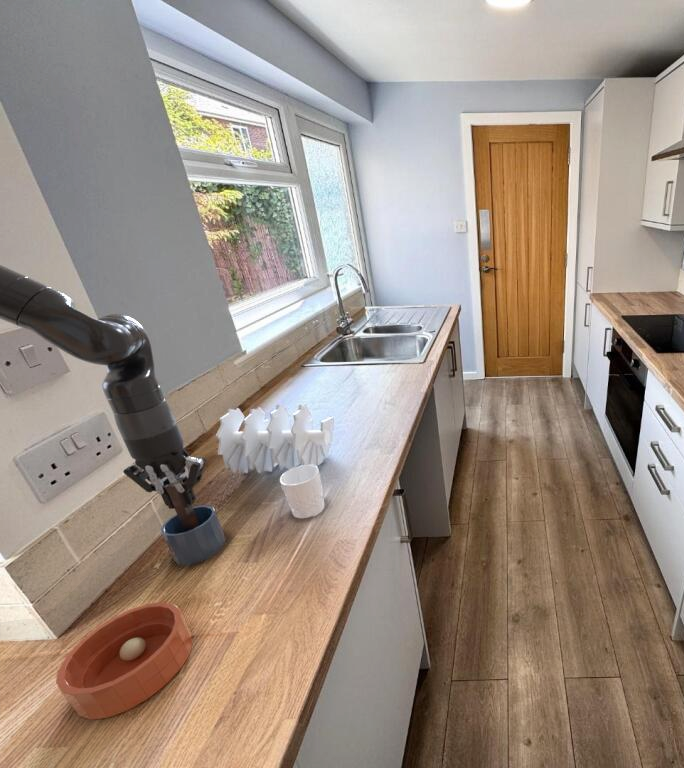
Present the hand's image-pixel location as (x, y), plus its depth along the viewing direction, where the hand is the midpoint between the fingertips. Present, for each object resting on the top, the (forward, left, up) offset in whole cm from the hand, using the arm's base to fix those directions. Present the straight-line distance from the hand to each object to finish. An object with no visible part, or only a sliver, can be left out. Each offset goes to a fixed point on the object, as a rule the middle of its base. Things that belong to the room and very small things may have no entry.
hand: (182, 505), depth 79 cm
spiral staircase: (+5, +30, -12) cm, 33 cm away
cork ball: (+3, -23, -10) cm, 25 cm away
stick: (0, 0, -11) cm, 11 cm away
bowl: (+5, -25, -12) cm, 28 cm away
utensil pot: (0, 0, -12) cm, 12 cm away
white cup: (+18, +10, -12) cm, 24 cm away
